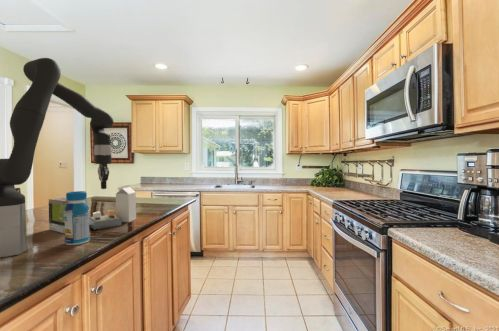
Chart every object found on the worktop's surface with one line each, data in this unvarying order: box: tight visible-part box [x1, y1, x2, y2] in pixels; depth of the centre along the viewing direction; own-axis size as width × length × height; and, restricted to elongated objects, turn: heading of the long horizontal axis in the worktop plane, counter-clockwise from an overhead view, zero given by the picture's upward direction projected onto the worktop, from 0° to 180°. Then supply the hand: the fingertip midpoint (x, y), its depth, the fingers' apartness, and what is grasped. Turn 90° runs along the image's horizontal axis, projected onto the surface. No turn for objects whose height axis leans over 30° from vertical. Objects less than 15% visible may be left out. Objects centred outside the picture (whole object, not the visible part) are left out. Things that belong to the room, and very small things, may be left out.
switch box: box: [89, 214, 122, 231], centre depth 132 cm, size 14×12×4 cm
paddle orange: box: [106, 209, 116, 215], centre depth 134 cm, size 4×3×2 cm
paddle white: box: [92, 210, 103, 218], centre depth 130 cm, size 4×3×2 cm
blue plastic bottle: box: [64, 190, 91, 246], centre depth 104 cm, size 8×8×20 cm
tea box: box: [48, 196, 87, 234], centre depth 124 cm, size 15×10×15 cm, turn 58°
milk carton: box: [115, 184, 137, 223], centre depth 141 cm, size 7×7×19 cm
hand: (103, 188), depth 132 cm, fingers closed
